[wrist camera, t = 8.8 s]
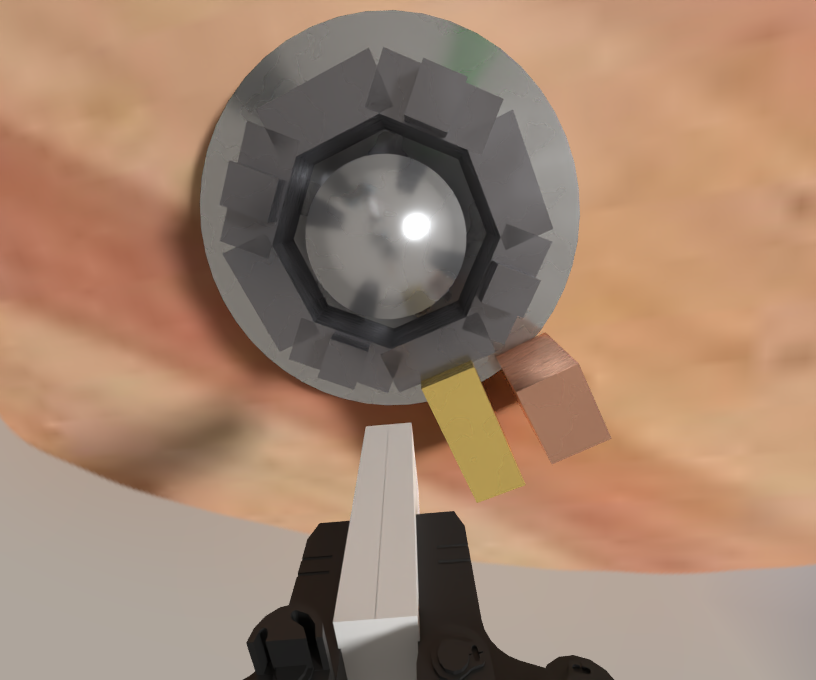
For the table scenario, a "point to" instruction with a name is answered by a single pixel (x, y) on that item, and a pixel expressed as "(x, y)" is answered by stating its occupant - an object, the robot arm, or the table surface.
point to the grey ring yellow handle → (429, 334)
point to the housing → (413, 218)
